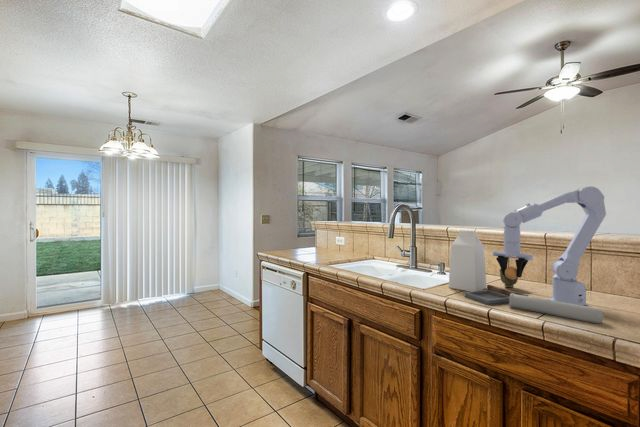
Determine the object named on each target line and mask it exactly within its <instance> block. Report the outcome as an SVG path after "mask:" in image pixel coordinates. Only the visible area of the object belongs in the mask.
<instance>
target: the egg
mask: <svg viewBox="0 0 640 427" xmlns="http://www.w3.org/2000/svg"><path fill="white" fill-rule="evenodd" d="M505 275H506V277H507V278H509V279H516V278H518V279H519V277H517V267H514V266H510V267H508V266H507V269H506V270H505Z"/></svg>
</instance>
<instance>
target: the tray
mask: <svg viewBox="0 0 640 427" xmlns="http://www.w3.org/2000/svg"><path fill="white" fill-rule="evenodd" d="M464 297H465V298H468V299H470V300H472V301H476V302H477V303H482V304H484V305H487V306H495V305H502V304H509V298H510V296H507V295H504V294H500V293H497V292H493V291H490V290H487V289H486V290H485V289H483V290H480V291H474V292H471V291H466V292H464Z"/></svg>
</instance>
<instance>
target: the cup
mask: <svg viewBox="0 0 640 427" xmlns="http://www.w3.org/2000/svg"><path fill="white" fill-rule="evenodd" d="M499 275H500V276H499V277H500V281H501V283H502V284H504V287H505V289H513V288H514V287H515V285H516V284H517V282H518V279H519V277H518V278H516V279H509V278H507V277H506V275H503V274H502V270H501V268H500V269H499Z"/></svg>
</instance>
